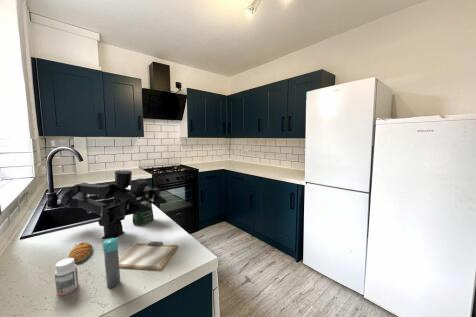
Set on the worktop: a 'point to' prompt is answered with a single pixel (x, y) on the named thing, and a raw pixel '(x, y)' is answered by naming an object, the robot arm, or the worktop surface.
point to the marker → (111, 262)
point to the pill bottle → (66, 276)
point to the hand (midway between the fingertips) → (159, 205)
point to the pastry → (80, 251)
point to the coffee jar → (144, 216)
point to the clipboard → (147, 256)
